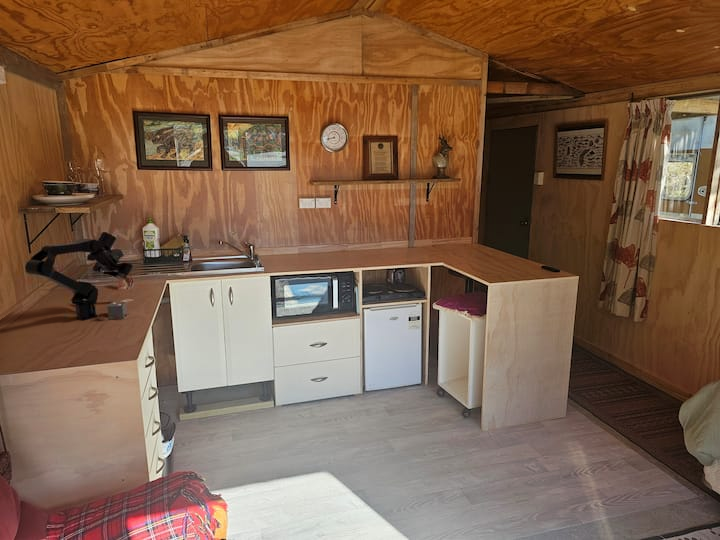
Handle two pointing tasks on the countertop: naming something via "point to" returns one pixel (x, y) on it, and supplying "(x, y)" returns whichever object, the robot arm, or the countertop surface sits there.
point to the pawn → (121, 283)
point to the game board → (126, 300)
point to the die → (117, 310)
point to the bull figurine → (129, 281)
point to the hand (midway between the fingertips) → (123, 277)
